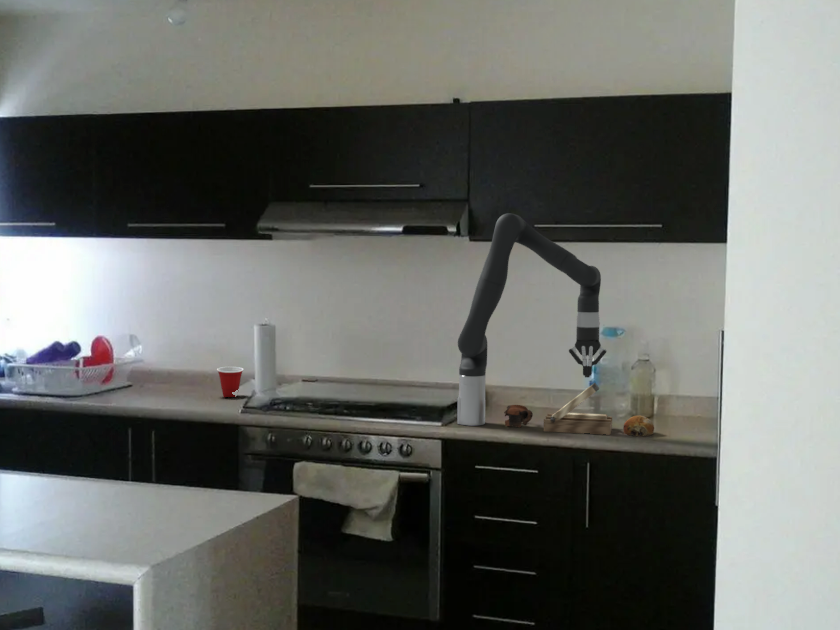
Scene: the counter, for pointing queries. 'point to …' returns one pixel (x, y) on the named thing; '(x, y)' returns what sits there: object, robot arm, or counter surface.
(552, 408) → the counter surface
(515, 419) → the pottery mug
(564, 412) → the hinged leg
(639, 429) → the bread roll
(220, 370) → the plastic cup
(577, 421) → the wooden slat frame
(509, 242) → the robot arm
